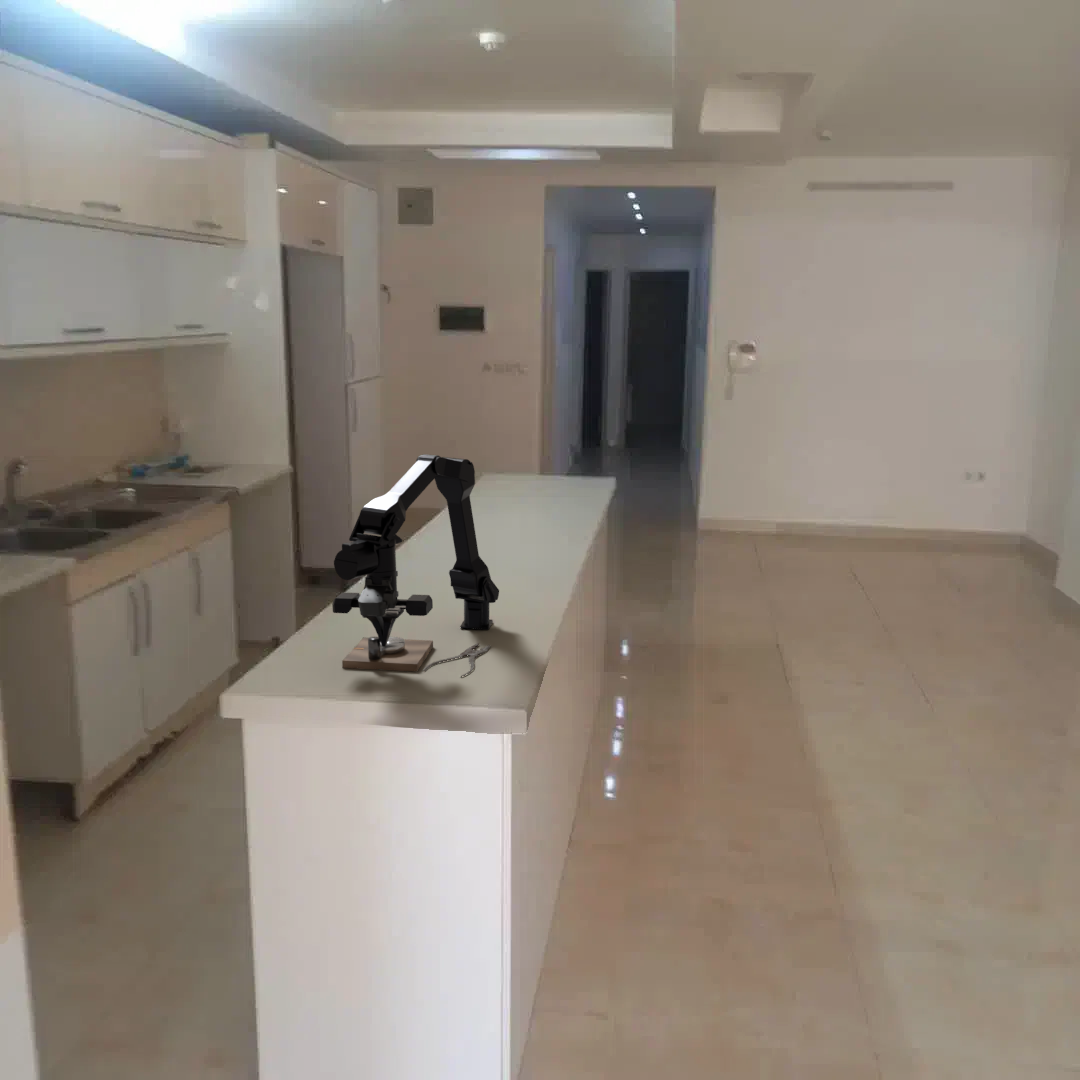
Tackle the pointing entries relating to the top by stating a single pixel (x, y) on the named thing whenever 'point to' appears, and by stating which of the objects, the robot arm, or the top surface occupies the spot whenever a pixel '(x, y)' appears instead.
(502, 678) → the top surface
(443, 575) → the top surface
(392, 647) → the crank handle
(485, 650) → the pliers
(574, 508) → the top surface
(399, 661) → the dial plate
